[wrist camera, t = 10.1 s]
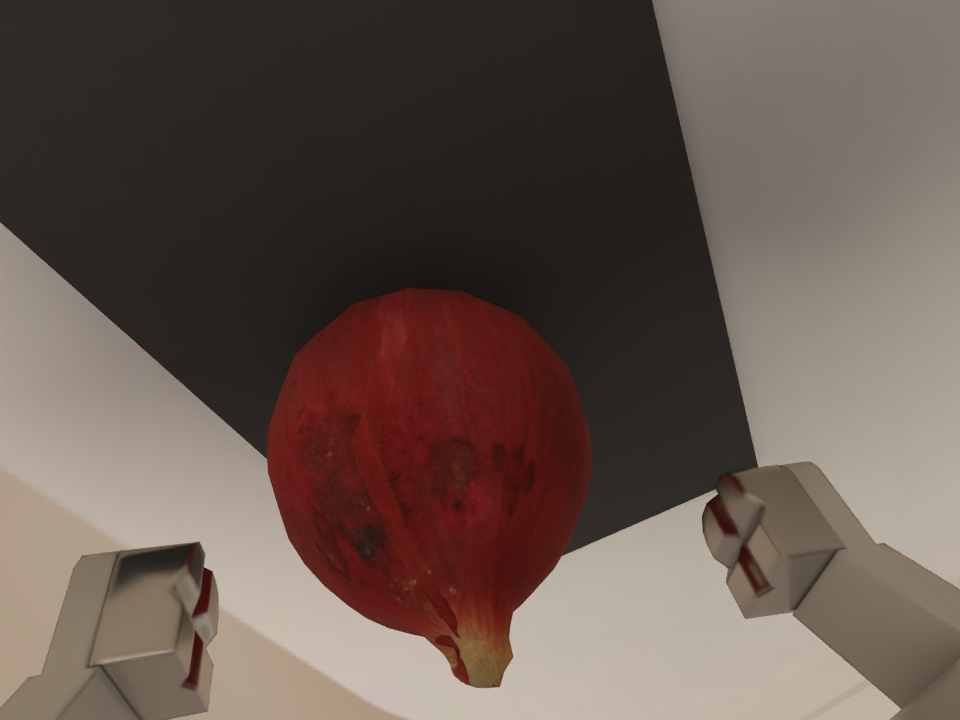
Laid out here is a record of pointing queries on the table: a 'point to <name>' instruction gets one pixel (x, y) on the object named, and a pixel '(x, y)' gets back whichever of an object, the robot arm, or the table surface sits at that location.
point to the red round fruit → (431, 467)
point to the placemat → (381, 199)
